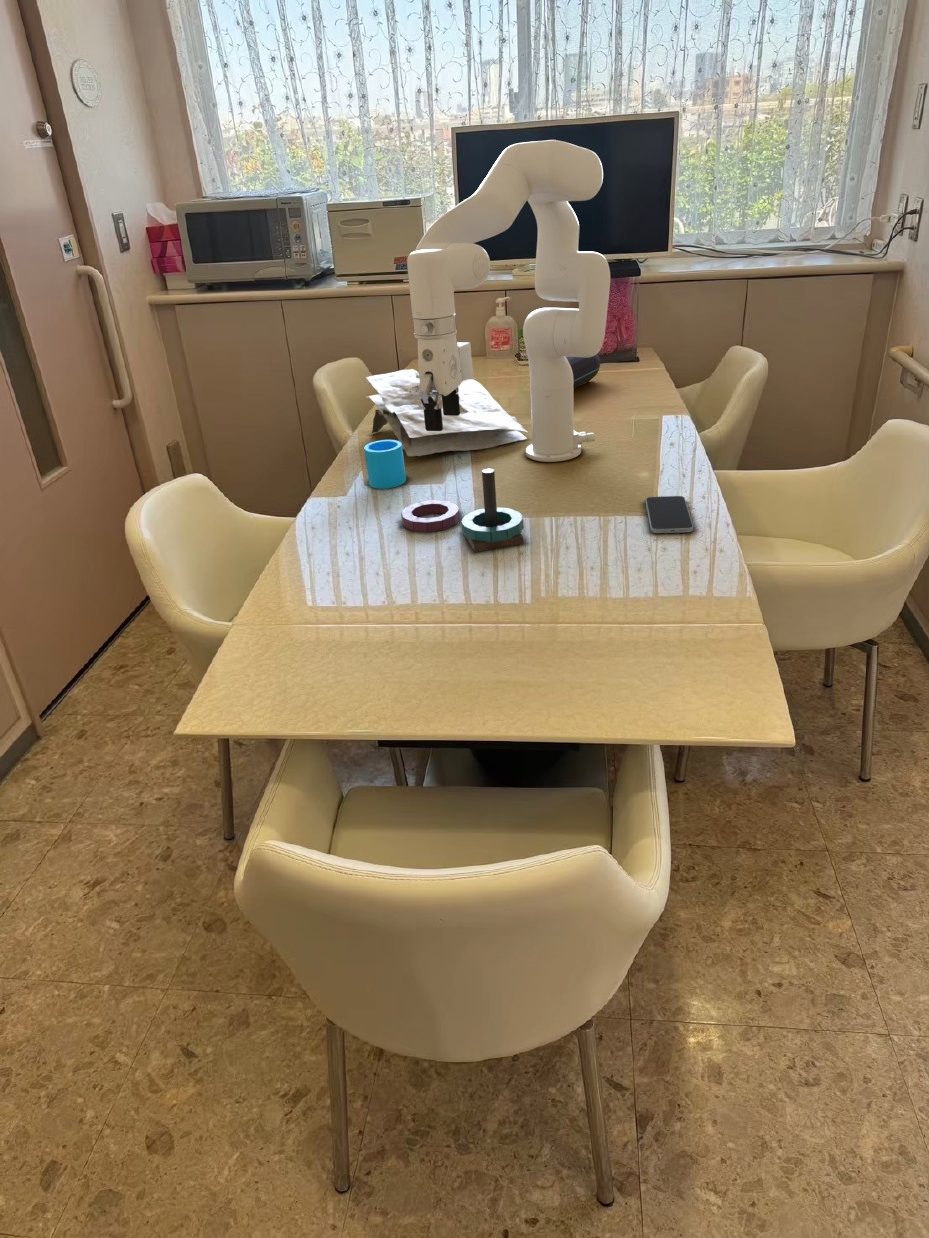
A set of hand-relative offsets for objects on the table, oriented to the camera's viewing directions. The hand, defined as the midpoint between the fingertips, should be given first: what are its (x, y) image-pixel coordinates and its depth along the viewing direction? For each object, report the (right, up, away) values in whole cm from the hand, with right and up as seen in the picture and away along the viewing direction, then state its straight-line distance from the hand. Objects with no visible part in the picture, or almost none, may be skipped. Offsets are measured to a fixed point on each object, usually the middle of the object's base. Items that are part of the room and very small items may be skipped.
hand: (443, 422), depth 153 cm
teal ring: (+9, -20, -2) cm, 22 cm away
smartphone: (+42, -18, 0) cm, 45 cm away
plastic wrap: (-1, +10, +56) cm, 56 cm away
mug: (-13, -5, +30) cm, 33 cm away
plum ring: (-3, -17, +8) cm, 19 cm away
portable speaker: (+33, +29, +83) cm, 94 cm away
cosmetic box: (+2, +26, +83) cm, 87 cm away
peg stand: (+9, -22, -2) cm, 23 cm away
